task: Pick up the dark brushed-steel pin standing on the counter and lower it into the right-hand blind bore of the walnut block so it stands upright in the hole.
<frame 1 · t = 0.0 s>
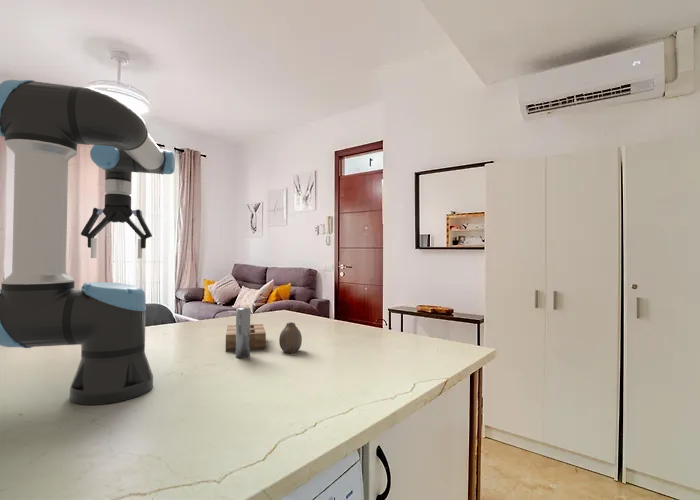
hand: (117, 258, 125), 28 cm above the counter, fingers open, 13 cm apart
vase: (290, 352, 116), on the counter
steel pin: (242, 356, 110), on the counter
bore block: (245, 344, 124), on the counter
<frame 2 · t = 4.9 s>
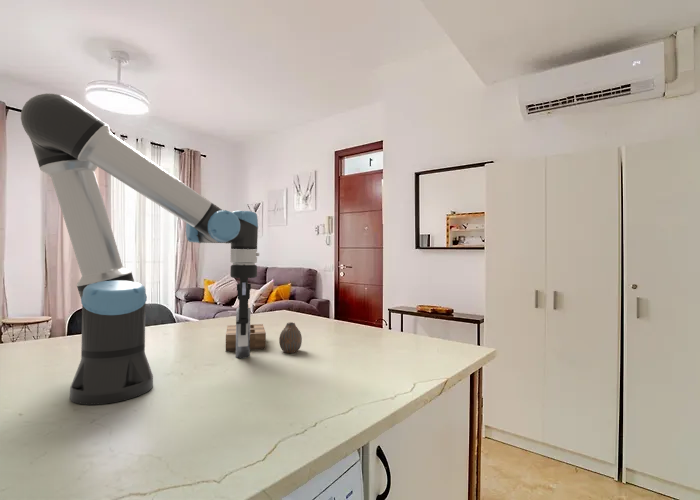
hand: (242, 344, 110), 4 cm above the counter, fingers closed on steel pin, 4 cm apart
steel pin: (242, 356, 110), on the counter, touching gripper
everything else where it was.
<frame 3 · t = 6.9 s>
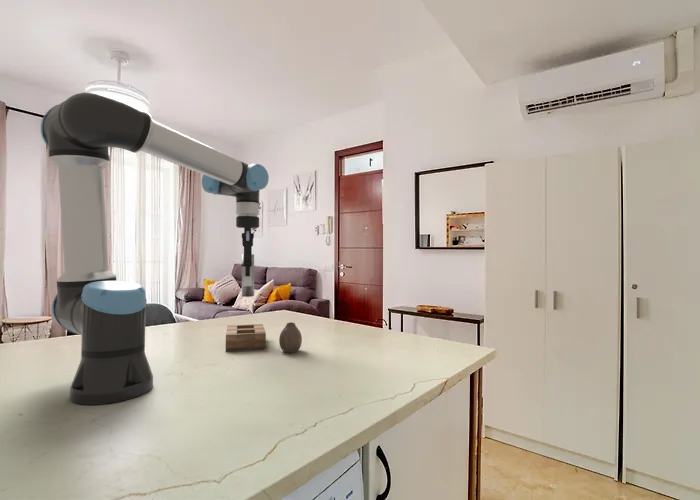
hand: (247, 285, 127), 19 cm above the counter, fingers closed on steel pin, 4 cm apart
steel pin: (247, 296, 127), point 16 cm above the counter, touching gripper
everything else where it was.
when the fingers open (6 cm above the counter, at t = 9.0 s): steel pin drops 2 cm, resting on bore block.
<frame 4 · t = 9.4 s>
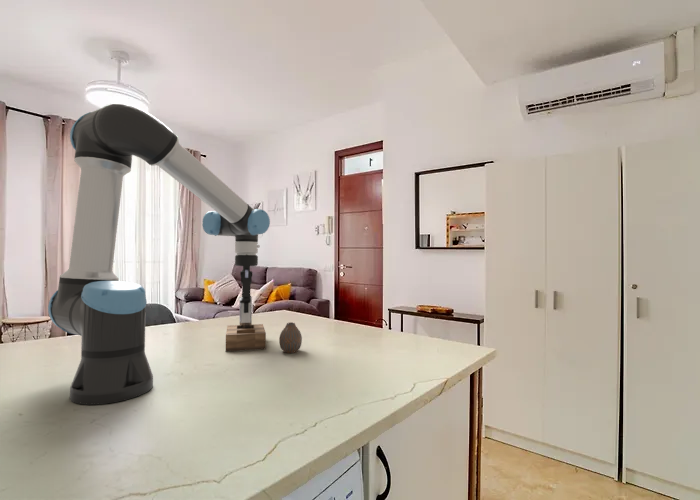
hand: (245, 319, 128), 7 cm above the counter, fingers open, 9 cm apart
steel pin: (245, 338, 128), point 1 cm above the counter, touching bore block
everything else where it was.
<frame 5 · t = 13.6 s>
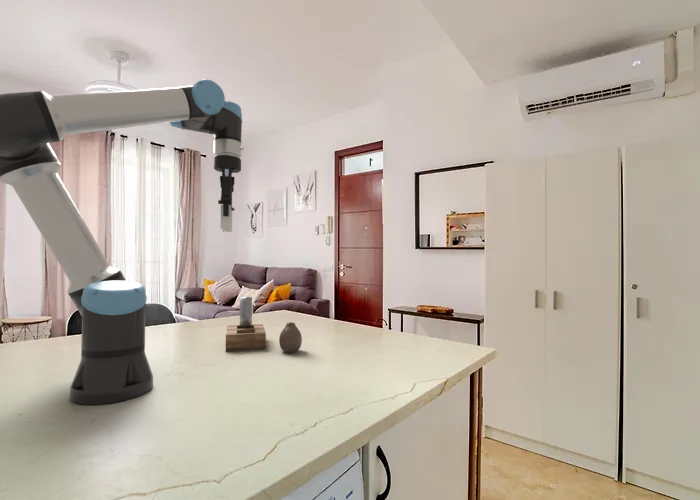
hand: (226, 230, 109), 37 cm above the counter, fingers open, 13 cm apart
nothing on the counter moved.
at the end: steel pin 0.1 cm from the target spot on the bore block, point 1.0 cm above the bore block's base; steel pin tilted 1°; the gripper is holding nothing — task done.
